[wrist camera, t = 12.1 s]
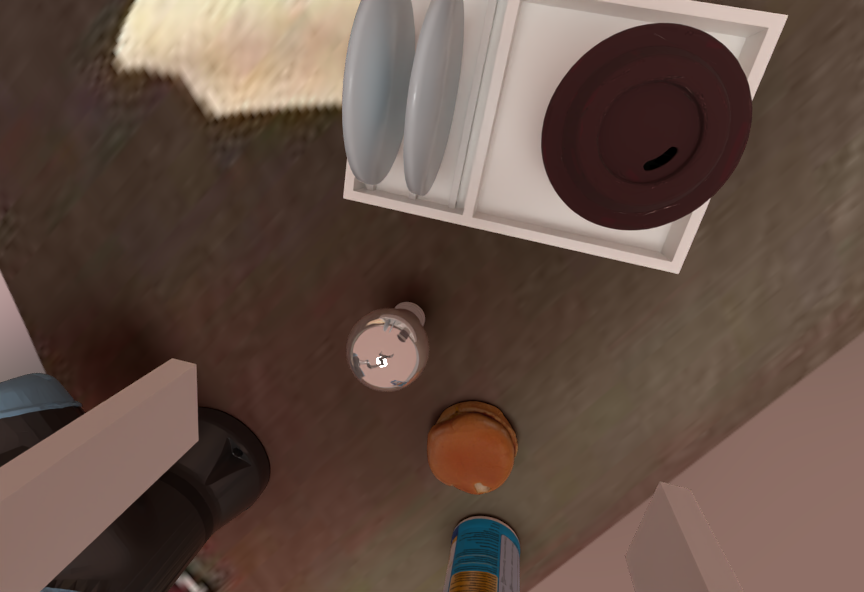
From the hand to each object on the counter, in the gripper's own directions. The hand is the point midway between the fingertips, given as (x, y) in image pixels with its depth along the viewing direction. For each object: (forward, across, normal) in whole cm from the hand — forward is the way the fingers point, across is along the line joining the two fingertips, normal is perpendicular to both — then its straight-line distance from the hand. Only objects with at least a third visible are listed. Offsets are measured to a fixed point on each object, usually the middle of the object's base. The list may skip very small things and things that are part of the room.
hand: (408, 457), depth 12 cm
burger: (+31, +4, -22) cm, 38 cm away
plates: (+29, -6, +11) cm, 31 cm away
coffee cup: (+29, +8, +10) cm, 32 cm away
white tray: (+30, +2, +11) cm, 32 cm away
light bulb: (+30, -5, -9) cm, 32 cm away
